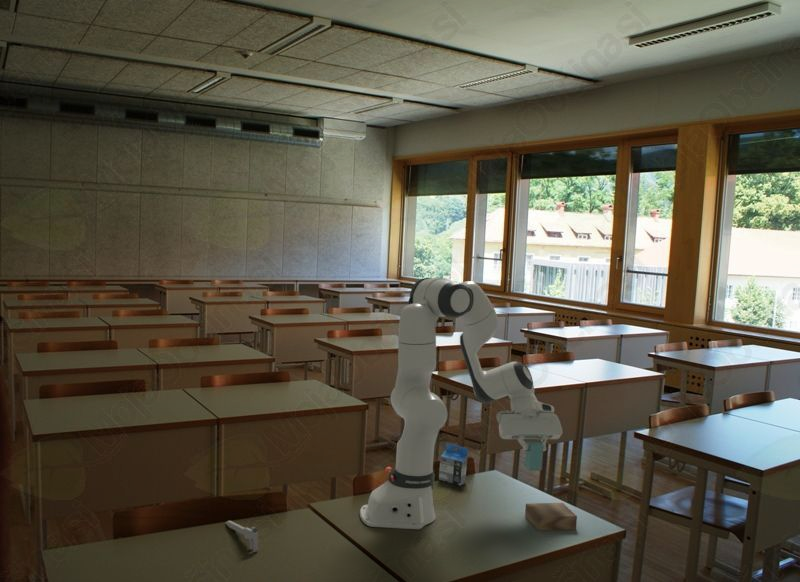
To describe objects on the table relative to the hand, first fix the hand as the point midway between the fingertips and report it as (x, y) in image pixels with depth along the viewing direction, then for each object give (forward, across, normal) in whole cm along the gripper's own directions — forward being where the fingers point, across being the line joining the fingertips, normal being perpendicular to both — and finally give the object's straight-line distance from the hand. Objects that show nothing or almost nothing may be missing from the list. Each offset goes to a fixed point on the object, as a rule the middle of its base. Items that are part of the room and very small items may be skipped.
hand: (535, 450), depth 210 cm
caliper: (+23, -88, +6) cm, 91 cm away
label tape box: (-5, -18, +32) cm, 37 cm away
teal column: (+4, 0, +5) cm, 6 cm away
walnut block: (+20, +2, +7) cm, 21 cm away
